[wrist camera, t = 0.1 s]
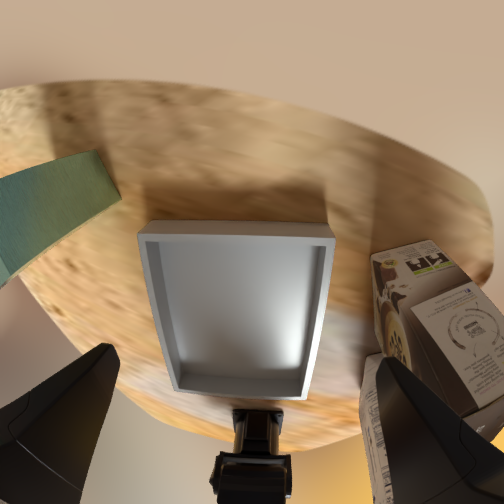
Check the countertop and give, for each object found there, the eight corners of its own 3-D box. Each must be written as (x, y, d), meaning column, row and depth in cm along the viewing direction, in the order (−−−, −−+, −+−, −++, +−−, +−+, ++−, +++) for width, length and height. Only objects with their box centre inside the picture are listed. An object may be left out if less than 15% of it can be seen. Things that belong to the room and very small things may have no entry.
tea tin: (121, 199, 22) (10, 275, 10) (85, 224, 23) (-14, 301, 11) (95, 149, 20) (-31, 191, 8) (61, 179, 21) (-49, 233, 9)
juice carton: (357, 349, 27) (401, 605, 2) (442, 331, 25) (526, 538, 1) (351, 397, 30) (374, 595, 6) (424, 380, 29) (476, 555, 5)
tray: (304, 378, 29) (306, 399, 26) (180, 371, 30) (174, 391, 27) (327, 223, 21) (335, 238, 19) (152, 220, 22) (136, 233, 19)
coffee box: (366, 254, 22) (455, 422, 8) (431, 237, 21) (548, 365, 6) (372, 333, 26) (417, 479, 11) (427, 316, 25) (494, 443, 10)
